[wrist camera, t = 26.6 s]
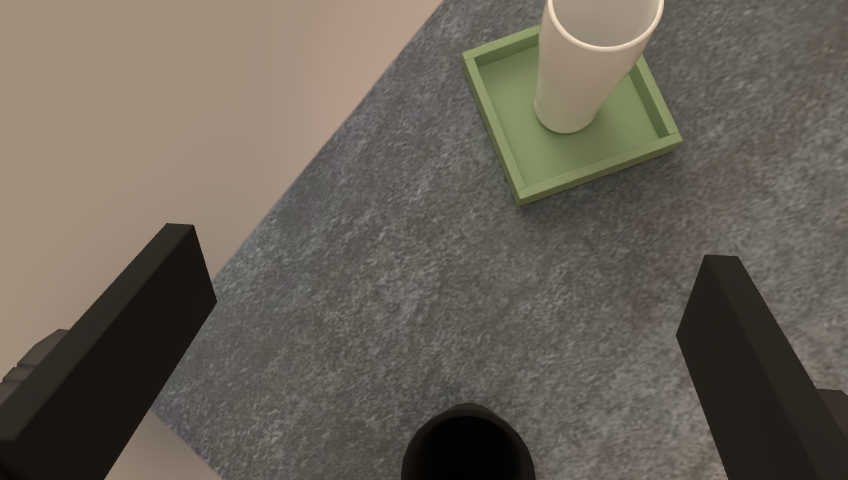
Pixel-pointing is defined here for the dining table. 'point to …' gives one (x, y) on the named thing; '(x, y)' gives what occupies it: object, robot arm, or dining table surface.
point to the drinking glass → (587, 56)
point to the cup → (467, 448)
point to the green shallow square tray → (557, 152)
